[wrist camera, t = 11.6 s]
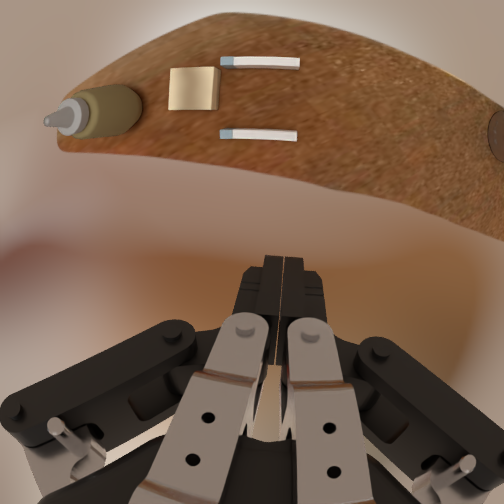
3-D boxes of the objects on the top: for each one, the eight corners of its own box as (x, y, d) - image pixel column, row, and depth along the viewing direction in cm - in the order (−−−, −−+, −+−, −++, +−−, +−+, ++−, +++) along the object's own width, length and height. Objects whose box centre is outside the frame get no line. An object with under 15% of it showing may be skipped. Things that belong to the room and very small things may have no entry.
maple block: (221, 70, 34) (214, 66, 30) (218, 109, 37) (211, 109, 33) (181, 71, 34) (170, 68, 31) (179, 109, 37) (168, 109, 34)
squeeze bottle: (149, 81, 35) (71, 78, 19) (149, 131, 39) (73, 153, 23) (107, 88, 36) (25, 94, 20) (107, 134, 40) (29, 159, 24)
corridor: (298, 61, 32) (299, 57, 29) (296, 139, 37) (296, 141, 34) (226, 61, 33) (220, 57, 30) (225, 136, 38) (219, 138, 35)
